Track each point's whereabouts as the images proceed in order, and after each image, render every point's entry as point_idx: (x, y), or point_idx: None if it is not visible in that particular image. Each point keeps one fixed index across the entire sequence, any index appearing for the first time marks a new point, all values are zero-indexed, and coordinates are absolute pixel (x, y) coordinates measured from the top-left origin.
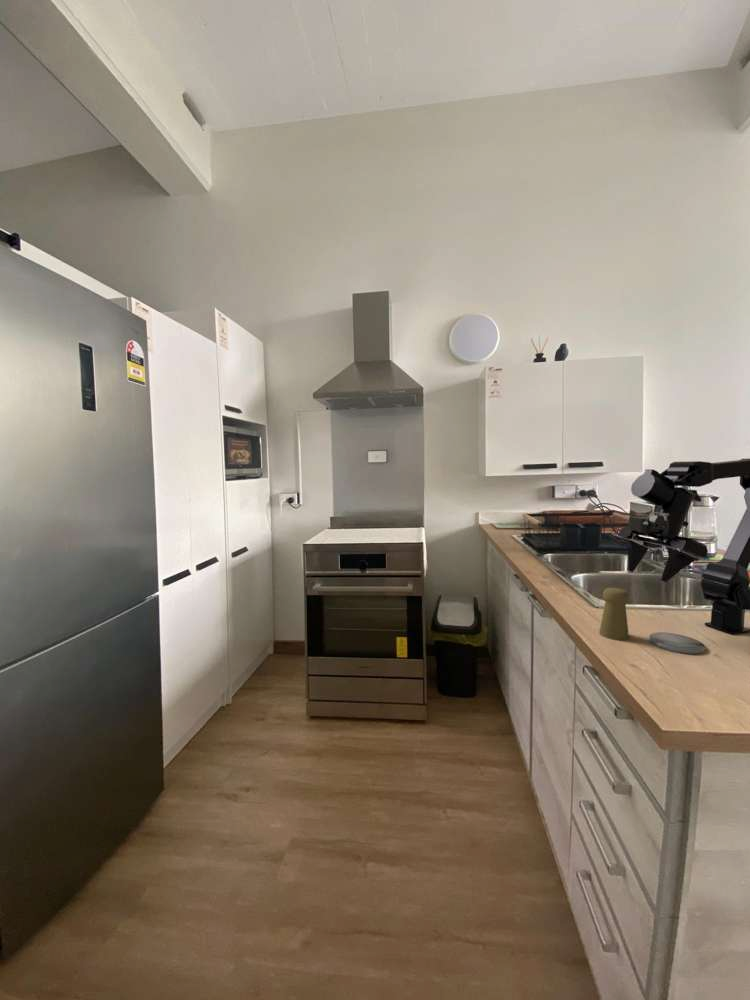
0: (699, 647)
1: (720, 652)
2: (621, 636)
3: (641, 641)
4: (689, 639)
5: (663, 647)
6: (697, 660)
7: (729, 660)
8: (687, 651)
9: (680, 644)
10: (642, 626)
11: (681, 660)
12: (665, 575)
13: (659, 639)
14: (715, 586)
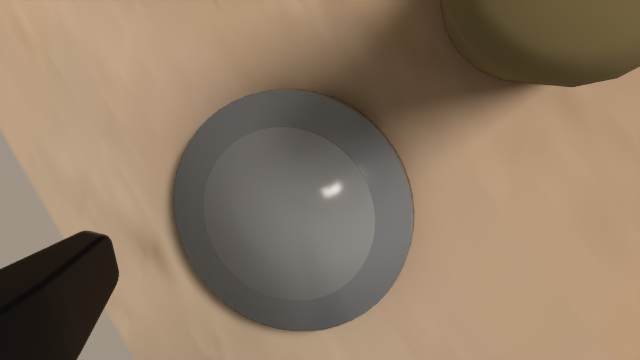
0: (195, 236)
1: (170, 304)
2: None
3: (389, 74)
4: (273, 293)
5: (271, 90)
6: (138, 116)
7: None
8: (191, 145)
9: (243, 183)
10: (556, 309)
11: (157, 42)
12: (8, 266)
13: (327, 146)
14: None
